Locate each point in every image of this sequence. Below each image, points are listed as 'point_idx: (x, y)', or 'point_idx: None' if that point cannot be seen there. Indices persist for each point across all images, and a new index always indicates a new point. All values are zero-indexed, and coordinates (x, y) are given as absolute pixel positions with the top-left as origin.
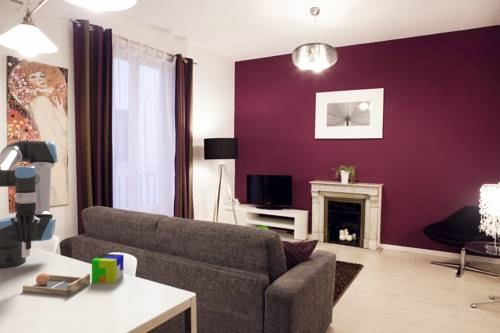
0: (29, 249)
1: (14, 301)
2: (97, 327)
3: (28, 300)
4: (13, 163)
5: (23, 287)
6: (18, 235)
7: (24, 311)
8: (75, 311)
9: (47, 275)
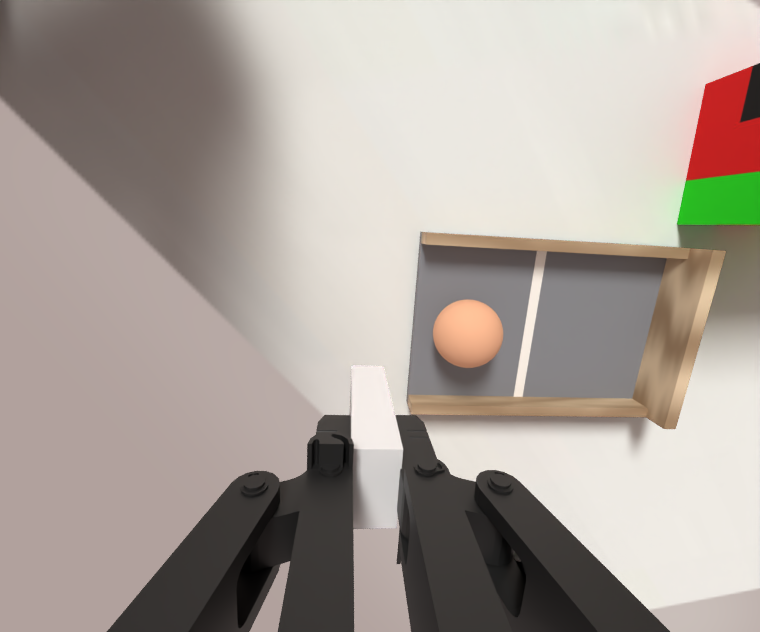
0: (390, 397)
1: None
2: None
3: (490, 466)
4: None
5: (414, 411)
6: (252, 606)
7: None
8: (707, 508)
9: (501, 333)
